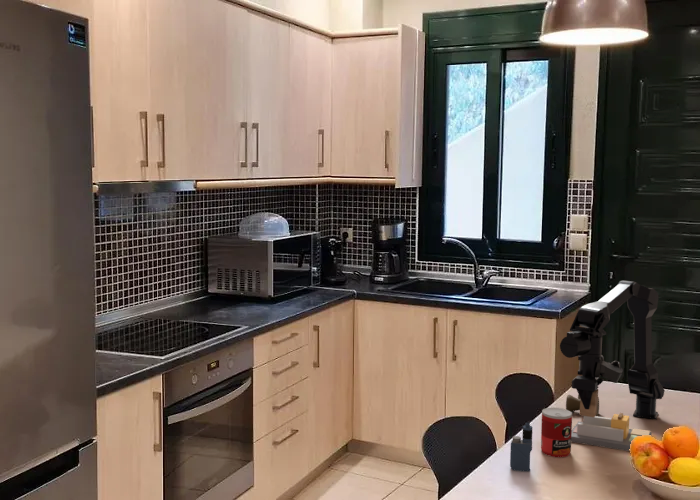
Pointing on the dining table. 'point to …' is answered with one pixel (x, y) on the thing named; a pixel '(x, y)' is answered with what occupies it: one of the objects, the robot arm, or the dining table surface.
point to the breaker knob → (621, 423)
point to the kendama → (576, 404)
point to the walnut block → (593, 406)
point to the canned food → (556, 432)
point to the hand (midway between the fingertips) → (588, 407)
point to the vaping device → (521, 450)
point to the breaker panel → (603, 433)
